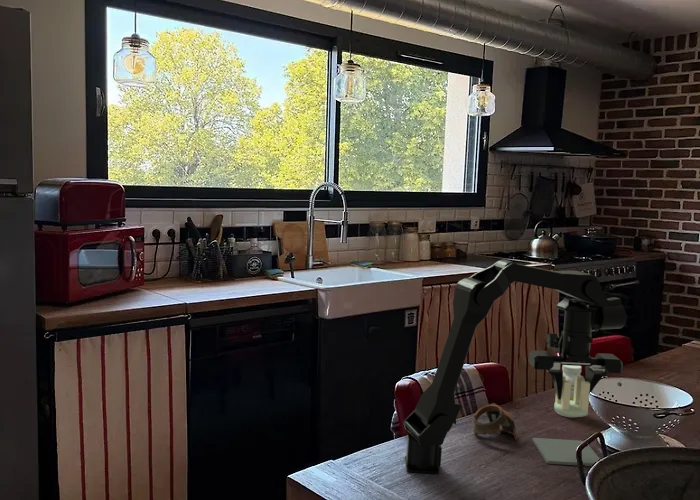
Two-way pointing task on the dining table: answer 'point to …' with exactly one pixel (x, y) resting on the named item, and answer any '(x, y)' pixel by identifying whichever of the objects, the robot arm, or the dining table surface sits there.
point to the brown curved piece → (494, 421)
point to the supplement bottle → (571, 379)
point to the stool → (580, 398)
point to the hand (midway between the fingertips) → (571, 399)
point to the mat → (564, 451)
